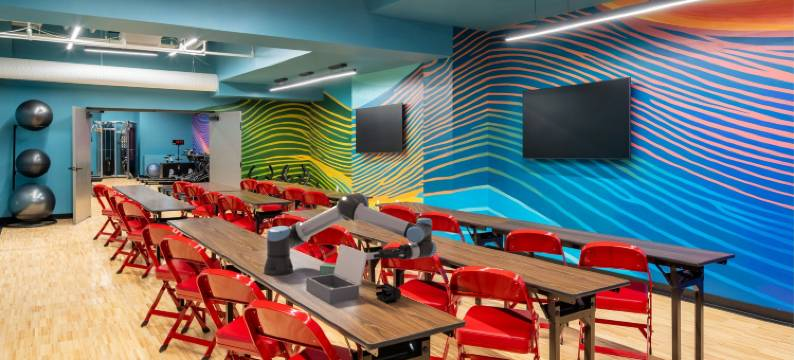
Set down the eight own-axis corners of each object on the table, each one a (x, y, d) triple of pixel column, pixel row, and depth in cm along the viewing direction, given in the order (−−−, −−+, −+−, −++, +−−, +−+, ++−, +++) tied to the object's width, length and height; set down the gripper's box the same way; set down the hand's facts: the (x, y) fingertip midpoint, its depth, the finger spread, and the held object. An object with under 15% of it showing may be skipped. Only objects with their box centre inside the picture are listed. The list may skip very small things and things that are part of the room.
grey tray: (306, 290, 229) (306, 277, 229) (333, 286, 237) (333, 273, 237) (329, 304, 210) (329, 289, 209) (358, 299, 217) (359, 285, 217)
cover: (340, 244, 238) (341, 244, 238) (333, 273, 237) (335, 273, 237) (366, 253, 218) (367, 253, 219) (359, 284, 217) (360, 285, 217)
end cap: (401, 302, 214) (401, 286, 214) (387, 304, 210) (387, 288, 210) (389, 296, 222) (389, 281, 222) (375, 298, 219) (375, 283, 218)
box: (344, 282, 245) (345, 267, 245) (319, 280, 248) (319, 265, 248) (350, 278, 252) (350, 264, 252) (325, 276, 255) (325, 262, 255)
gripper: (415, 261, 240) (374, 267, 227) (400, 256, 251) (359, 261, 238) (416, 246, 240) (374, 250, 227) (400, 241, 251) (359, 246, 237)
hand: (366, 256), depth 232 cm, fingers closed
